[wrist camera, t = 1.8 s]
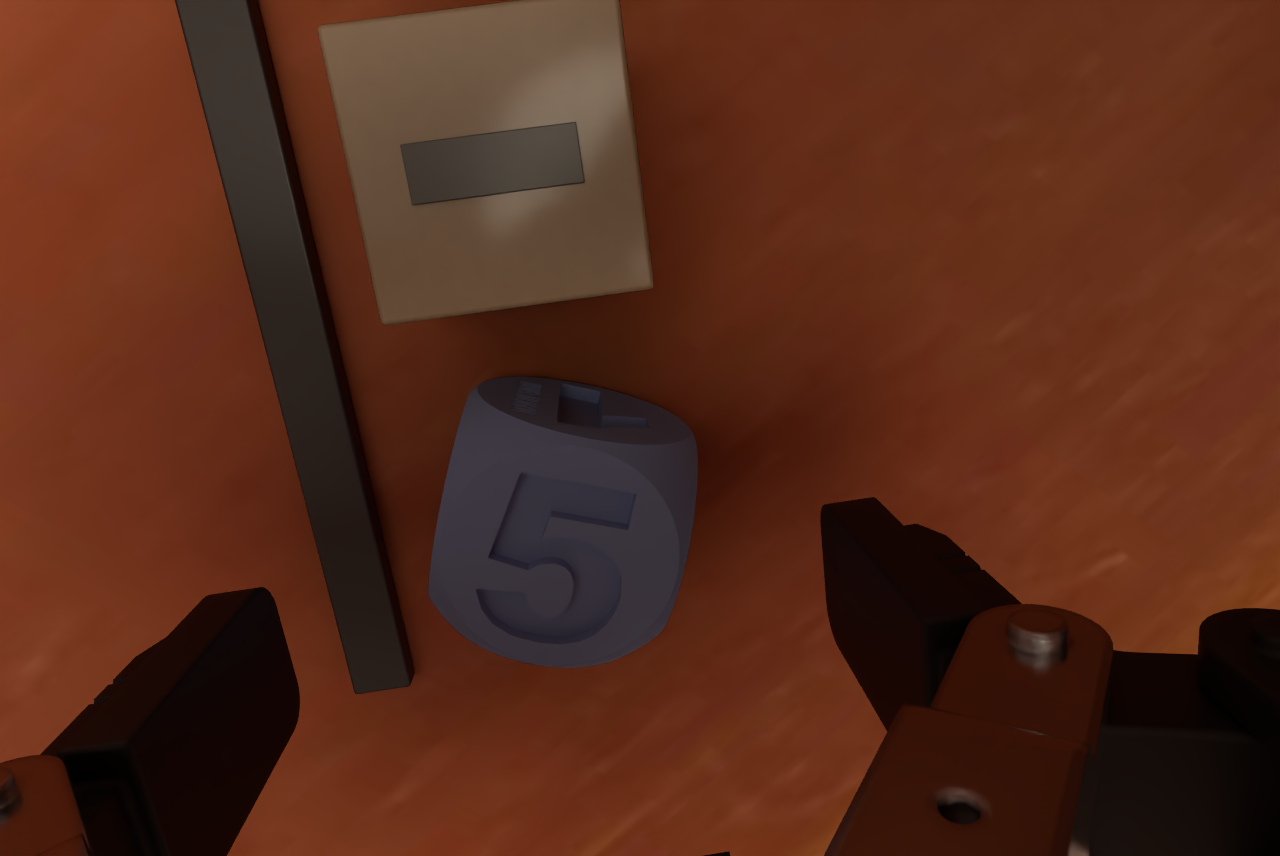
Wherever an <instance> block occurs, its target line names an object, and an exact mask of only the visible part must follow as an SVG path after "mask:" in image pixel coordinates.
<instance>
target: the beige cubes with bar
mask: <svg viewBox="0 0 1280 856" xmlns="http://www.w3.org/2000/svg"><path fill="white" fill-rule="evenodd" d="M175 3H176V6H177V10H178V14H179V18H180V22H181V26H182V29H183V33H184V37H185V41H186V45H187V49H188V53H189V56H190V60H191V64H192V68H193V72H194V76H195V80H196V83H197V87H198V91H199V95H200V99H201V103H202V107H203V110H204V114H205V118H206V122H207V126H208V130H209V134H210V137H211V141H212V145H213V149H214V153H215V157H216V160H217V164H218V168H219V172H220V176H221V180H222V184H223V187H224V191H225V195H226V199H227V203H228V207H229V211H230V214H231V218H232V222H233V226H234V230H235V234H236V238H237V241H238V245H239V249H240V253H241V257H242V261H243V264H244V268H245V272H246V276H247V280H248V284H249V288H250V291H251V295H252V299H253V303H254V307H255V311H256V315H257V318H258V322H259V326H260V330H261V334H262V338H263V342H264V345H265V349H266V353H267V357H268V361H269V365H270V369H271V372H272V376H273V380H274V384H275V388H276V392H277V395H278V399H279V403H280V407H281V411H282V415H283V419H284V422H285V426H286V430H287V434H288V438H289V442H290V446H291V449H292V453H293V457H294V461H295V465H296V469H297V473H298V476H299V480H300V484H301V488H302V492H303V496H304V499H305V503H306V507H307V511H308V515H309V519H310V523H311V526H312V530H313V534H314V538H315V542H316V546H317V550H318V553H319V557H320V561H321V565H322V569H323V573H324V577H325V580H326V584H327V588H328V592H329V596H330V600H331V604H332V607H333V611H334V615H335V619H336V623H337V627H338V630H339V634H340V638H341V642H342V646H343V650H344V654H345V657H346V661H347V665H348V669H349V673H350V677H351V681H352V684H353V688H354V692H355V694H361V693H368V692H375V691H381V690H388V689H394V688H401V687H408V686H410V685H411V682H412V679H413V677H414V669H413V665H412V661H411V656H410V652H409V648H408V643H407V639H406V635H405V631H404V626H403V622H402V618H401V614H400V609H399V605H398V601H397V596H396V592H395V588H394V584H393V579H392V575H391V571H390V567H389V562H388V558H387V554H386V550H385V545H384V541H383V537H382V532H381V528H380V524H379V520H378V515H377V511H376V507H375V503H374V498H373V494H372V490H371V485H370V481H369V477H368V473H367V468H366V464H365V460H364V456H363V451H362V447H361V443H360V439H359V434H358V430H357V426H356V421H355V417H354V413H353V409H352V404H351V400H350V396H349V392H348V387H347V383H346V379H345V374H344V370H343V366H342V362H341V357H340V353H339V349H338V345H337V340H336V336H335V332H334V327H333V323H332V319H331V315H330V310H329V306H328V302H327V298H326V293H325V289H324V285H323V281H322V276H321V272H320V268H319V263H318V259H317V255H316V251H315V246H314V242H313V238H312V234H311V229H310V225H309V221H308V216H307V212H306V208H305V204H304V199H303V195H302V191H301V187H300V182H299V178H298V174H297V170H296V165H295V161H294V157H293V152H292V148H291V144H290V140H289V135H288V131H287V127H286V123H285V118H284V114H283V110H282V105H281V101H280V97H279V93H278V88H277V84H276V80H275V76H274V71H273V67H272V63H271V58H270V54H269V50H268V46H267V41H266V37H265V33H264V29H263V24H262V20H261V16H260V12H259V7H258V3H257V0H175ZM318 35H319V40H320V44H321V49H322V53H323V58H324V63H325V67H326V72H327V76H328V81H329V86H330V90H331V95H332V99H333V104H334V109H335V113H336V118H337V122H338V127H339V132H340V136H341V141H342V145H343V150H344V155H345V159H346V164H347V168H348V173H349V178H350V182H351V187H352V191H353V196H354V201H355V205H356V210H357V214H358V219H359V224H360V228H361V233H362V237H363V242H364V247H365V251H366V256H367V260H368V265H369V270H370V274H371V279H372V283H373V288H374V293H375V297H376V302H377V306H378V311H379V316H380V320H381V322H382V323H383V324H384V325H394V324H401V323H408V322H415V321H423V320H430V319H437V318H445V317H452V316H459V315H466V314H474V313H481V312H488V311H496V310H503V309H510V308H517V307H525V306H532V305H539V304H547V303H554V302H561V301H569V300H576V299H583V298H590V297H598V296H605V295H612V294H620V293H627V292H634V291H641V290H649V289H651V288H653V285H654V278H653V270H652V262H651V253H650V245H649V237H648V229H647V221H646V212H645V204H644V196H643V188H642V180H641V171H640V163H639V155H638V147H637V138H636V130H635V122H634V114H633V106H632V97H631V89H630V81H629V73H628V65H627V56H626V48H625V40H624V32H623V24H622V15H621V7H620V0H516V1H508V2H500V3H492V4H484V5H476V6H468V7H460V8H452V9H444V10H436V11H428V12H420V13H412V14H404V15H396V16H388V17H380V18H372V19H364V20H356V21H348V22H340V23H332V24H324V25H321V26H320V27H319V28H318Z"/></svg>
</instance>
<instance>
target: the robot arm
mask: <svg viewBox="0 0 1280 856" xmlns="http://www.w3.org/2000/svg"><path fill="white" fill-rule="evenodd" d="M821 536H822V550H823V563H824V577H825V591H826V603H827V611H828V617H829V622H830V626H831V630H832V633H833V636H834V639H835V641H836V644H837V646H838V648H839V650H840V651H841V653H842V655H843V656H844V658H845V660H846V661H847V663H848V665H849V667H850V668H851V670H852V672H853V673H854V675H855V677H856V679H857V680H858V682H859V684H860V685H861V687H862V689H863V691H864V692H865V694H866V696H867V697H868V699H869V701H870V703H871V704H872V706H873V708H874V709H875V711H876V713H877V715H878V716H879V718H880V720H881V721H882V723H883V725H884V726H885V728H886V730H887V734H886V736H885V738H884V740H883V742H882V744H881V745H880V747H879V749H878V751H877V753H876V755H875V757H874V759H873V761H872V763H871V765H870V767H869V769H868V771H867V773H866V775H865V777H864V779H863V780H862V782H861V784H860V786H859V788H858V790H857V792H856V794H855V796H854V798H853V800H852V802H851V804H850V806H849V808H848V810H847V812H846V813H845V815H844V817H843V819H842V821H841V823H840V825H839V827H838V829H837V831H836V833H835V835H834V837H833V839H832V841H831V843H830V845H829V847H828V848H827V850H826V852H825V854H824V856H1280V610H1275V609H1262V608H1243V609H1232V610H1227V611H1222V612H1219V613H1216V614H1213V615H1211V616H1209V617H1207V618H1206V619H1205V620H1204V621H1203V622H1202V624H1201V625H1200V629H1199V644H1198V655H1195V654H1165V653H1137V652H1123V651H1116V650H1113V642H1112V640H1111V637H1110V636H1109V635H1108V633H1107V632H1106V631H1105V630H1104V629H1103V628H1102V627H1101V626H1100V625H1098V624H1097V623H1095V622H1094V621H1092V620H1090V619H1088V618H1086V617H1084V616H1082V615H1080V614H1077V613H1074V612H1072V611H1068V610H1065V609H1061V608H1056V607H1051V606H1045V605H1036V604H1022V603H1020V602H1019V601H1018V600H1017V599H1016V598H1015V597H1014V596H1013V595H1012V594H1010V593H1009V592H1008V591H1007V590H1006V589H1005V588H1004V587H1003V586H1002V585H1000V584H999V583H998V582H997V581H996V580H995V579H994V578H993V577H992V576H991V575H989V574H988V573H987V572H986V571H985V570H981V568H980V566H979V565H978V564H977V563H976V562H975V561H974V560H973V559H972V558H971V557H970V556H966V555H965V552H964V551H963V550H962V549H961V548H960V547H958V546H957V545H956V544H955V543H954V542H953V541H952V540H951V539H950V538H948V537H947V536H946V535H943V534H941V533H938V532H936V531H934V530H931V529H929V528H926V527H924V526H921V525H919V524H911V525H905V526H903V525H902V524H901V523H900V522H899V521H898V520H897V519H896V518H895V517H894V516H893V515H892V514H891V513H890V512H889V511H888V510H887V509H886V508H885V507H884V506H883V505H882V504H881V503H880V502H879V501H878V500H877V499H876V498H874V497H871V498H864V499H858V500H851V501H844V502H837V503H831V504H825V505H823V506H822V509H821ZM299 708H300V695H299V687H298V682H297V678H296V675H295V671H294V668H293V664H292V660H291V657H290V653H289V650H288V646H287V642H286V639H285V635H284V632H283V628H282V624H281V621H280V617H279V614H278V610H277V606H276V603H275V601H274V598H273V596H272V595H271V593H270V592H269V591H268V590H267V589H266V588H263V587H259V588H252V589H245V590H239V591H232V592H225V593H218V594H212V595H208V596H206V597H205V598H203V599H202V600H201V601H200V602H199V604H198V605H197V606H196V607H195V608H194V609H193V610H192V611H191V612H190V613H189V614H188V615H187V616H186V617H185V618H184V619H183V620H182V621H181V622H180V624H179V625H178V626H177V627H176V628H175V629H174V630H173V631H172V632H171V633H170V634H169V635H168V636H167V637H166V638H164V639H163V640H161V641H160V642H158V643H156V644H155V645H153V646H152V647H150V648H149V649H147V650H146V651H144V652H142V653H141V654H139V655H138V656H136V657H135V658H134V659H133V660H132V661H131V662H130V663H129V664H128V665H127V666H126V667H125V668H124V669H123V670H122V671H121V672H120V673H119V674H118V675H117V677H116V678H115V679H114V680H113V684H110V685H108V686H107V687H106V688H105V689H104V690H103V691H102V692H101V693H100V694H99V695H98V696H97V697H96V698H95V699H94V704H90V705H88V706H87V707H86V708H85V709H84V710H83V711H82V712H81V713H80V714H79V715H78V716H77V717H76V719H75V720H74V721H73V722H72V723H71V724H70V725H69V726H68V727H67V728H66V729H65V730H64V731H63V732H62V733H61V734H60V735H59V736H58V737H57V738H56V739H55V740H54V741H53V742H52V743H51V744H50V745H49V746H48V747H47V748H46V749H45V750H44V751H43V752H42V753H41V754H40V755H33V756H26V757H21V758H16V759H13V760H9V761H5V762H2V763H0V856H227V854H228V852H229V850H230V849H231V847H232V845H233V843H234V841H235V839H236V837H237V836H238V834H239V832H240V830H241V828H242V826H243V825H244V823H245V821H246V819H247V817H248V815H249V813H250V812H251V810H252V808H253V806H254V804H255V802H256V800H257V799H258V797H259V795H260V793H261V791H262V789H263V787H264V786H265V784H266V782H267V780H268V778H269V776H270V774H271V773H272V771H273V769H274V767H275V765H276V763H277V761H278V760H279V758H280V756H281V754H282V752H283V750H284V748H285V747H286V745H287V743H288V741H289V739H290V737H291V736H292V734H293V732H294V730H295V728H296V725H297V721H298V717H299ZM704 856H730V852H723V853H717V854H710V855H704Z"/></svg>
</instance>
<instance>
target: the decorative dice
mask: <svg viewBox="0 0 1280 856" xmlns="http://www.w3.org/2000/svg"><path fill="white" fill-rule="evenodd" d="M697 482H698V452H697V444H696V439H695V436H694V434H693V433H692V431H691V430H690V428H689V427H688V425H687V424H686V423H685V422H684V421H683V420H682V419H680V418H679V417H677V416H676V415H674V414H673V413H671V412H669V411H667V410H665V409H663V408H661V407H659V406H656V405H654V404H652V403H649V402H647V401H644V400H641V399H638V398H635V397H632V396H629V395H626V394H623V393H619V392H616V391H612V390H608V389H604V388H600V387H596V386H591V385H587V384H582V383H576V382H570V381H564V380H557V379H549V378H538V377H501V378H495V379H490V380H487V381H485V382H483V383H481V384H480V385H478V386H477V387H475V388H473V389H472V390H471V392H470V394H469V396H468V398H467V401H466V404H465V407H464V410H463V413H462V416H461V420H460V423H459V427H458V430H457V434H456V438H455V442H454V446H453V450H452V454H451V458H450V462H449V467H448V471H447V476H446V480H445V485H444V490H443V495H442V499H441V505H440V510H439V515H438V520H437V526H436V532H435V538H434V544H433V550H432V557H431V565H430V574H429V587H428V594H429V598H430V600H431V601H432V603H433V604H434V605H435V607H436V608H437V609H438V611H439V612H440V614H441V615H442V616H443V617H444V618H445V619H446V620H447V621H448V623H449V624H450V625H451V626H452V627H453V628H454V629H455V630H456V631H458V632H459V633H460V634H461V635H462V636H464V637H465V638H466V639H468V640H469V641H471V642H473V643H474V644H476V645H478V646H480V647H482V648H483V649H485V650H488V651H490V652H492V653H495V654H497V655H500V656H503V657H506V658H509V659H512V660H516V661H519V662H524V663H528V664H533V665H539V666H547V667H560V668H575V667H588V666H594V665H600V664H604V663H608V662H610V661H613V660H616V659H618V658H620V657H623V656H625V655H627V654H629V653H631V652H633V651H635V650H637V649H638V648H640V647H641V646H643V645H645V644H646V643H648V642H649V641H651V640H652V639H653V638H655V637H656V636H657V635H659V634H660V633H661V631H662V630H663V629H664V627H665V625H666V623H667V621H668V619H669V617H670V615H671V612H672V610H673V607H674V604H675V601H676V598H677V595H678V591H679V588H680V584H681V581H682V577H683V573H684V569H685V564H686V560H687V555H688V550H689V545H690V539H691V534H692V528H693V521H694V513H695V505H696V496H697Z"/></svg>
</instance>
